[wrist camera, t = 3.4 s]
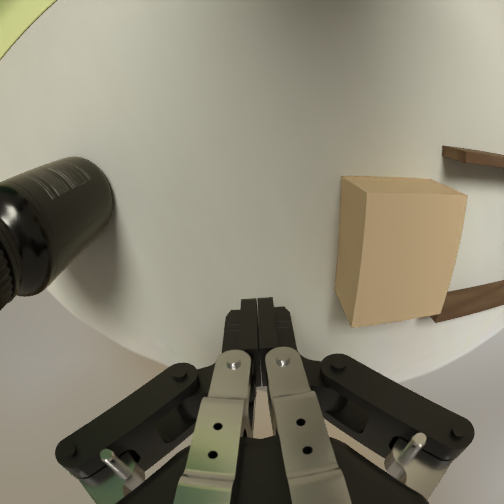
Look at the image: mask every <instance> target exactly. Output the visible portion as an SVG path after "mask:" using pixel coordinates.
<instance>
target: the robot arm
mask: <svg viewBox="0 0 504 504" xmlns="http://www.w3.org/2000/svg"><path fill="white" fill-rule="evenodd" d="M258 322H259V325H258ZM260 360H261V369H260ZM261 372H262V383H263V386H267V393H268V404H269V410H270V416H271V423H272V428H273V436H271V437H268V438H264V439H255V438H253V428H254V416H255V404H256V399H255V398H256V387H258V386H261ZM324 419H326V420H327V421H329V422H330V423H332V424H333V425H335V426H336V427H337V428H339V429H340V430H342V431H343V432H345V433H346V434H348V435H349V436H351V437H352V438H354V439H355V440H357V441H358V442H360V443H361V444H363V445H364V446H366V447H368V448H369V449H371V450H372V451H374V452H375V453H377V454H379V455H380V456H382V457H384V458H385V462H384V464H385V469H386V470H387V472H388V473H389V474H388V473H387V472H385V471H384V470H382V469H380V468H379V467H378V466H376V465H375V464H373V463H372V462H370V461H369V460H368V459H366V458H365V457H363V456H362V455H360V454H359V453H358V452H356V451H355V450H353V449H352V448H350V447H349V446H348V445H347V444H345V443H343V442H341V441H339V440H337V439H334V438H331V437H329V435H328V431H327V429H326V425H325V422H324ZM193 432H194V434H193V438H192V442H191V445H190V446H188V447H186V448H184V449H183V450H181V451H180V452H178V453H177V454H176V455H175V456H174V457H172V458H171V459H170V460H169V461H168V462H167V463H166V464H164V465H163V466H162V467H161V468H160V469H159V470H157V471H156V472H155V473H154V474H152V475H151V476H150V477H149V478H148V479H146V480H145V473H144V472H145V471H146V470H147V469H149V468H150V467H151V466H153V465H154V464H155V463H157V462H158V461H159V460H160V459H162V458H163V457H164V456H165V455H167V454H168V453H169V452H170V451H172V450H173V449H174V448H175V447H177V446H178V445H179V444H180V443H181V442H183V441H184V440H185V439H186V438H187V437H188V436H190V435H191V434H192V433H193ZM473 438H474V428H473V426H472V424H471V422H470V421H468V420H467V419H466V418H464V417H462V416H460V415H457V414H456V413H454V412H451V411H449V410H447V409H446V408H444V407H442V406H440V405H438V404H436V403H434V402H432V401H430V400H428V399H426V398H424V397H422V396H420V395H418V394H417V393H415V392H413V391H411V390H409V389H407V388H405V387H403V386H401V385H400V384H398V383H396V382H394V381H392V380H390V379H389V378H387V377H385V376H383V375H381V374H380V373H378V372H376V371H374V370H372V369H371V368H369V367H367V366H365V365H363V364H362V363H360V362H358V361H356V360H355V359H353V358H351V357H349V356H347V355H344V354H332V355H329V356H327V357H325V358H324V359H323V360H322V361H314V360H309V359H306V358H304V357H303V356H301V355H300V354H299V352H298V351H297V347H296V342H295V337H294V332H293V327H292V321H291V316H290V312H289V311H288V310H287V309H286V308H285V307H274V305H273V297H268V298H258V312H257V300H256V298H254V299H241V310H231V311H230V312H229V313H228V315H227V316H226V320H225V328H224V337H223V346H222V354H221V355H219V357H218V358H217V360H216V363H214V364H213V365H211V366H208V367H205V368H201V369H196V368H195V367H194V366H193V365H191V364H189V363H177V364H174V365H172V366H170V367H168V368H167V369H166V370H164V371H163V372H162V373H160V374H159V375H157V376H156V377H155V378H153V379H152V380H150V381H149V382H148V383H146V384H145V385H143V386H142V387H141V388H139V389H138V390H136V391H135V392H133V393H132V394H130V395H129V396H128V397H127V398H125V399H123V400H122V401H120V402H119V403H118V404H116V405H115V406H113V407H112V408H110V409H109V410H107V411H106V412H104V413H103V414H101V415H100V416H98V417H97V418H95V419H94V420H92V421H91V422H89V423H88V424H86V425H85V426H83V427H82V428H80V429H79V430H77V431H75V432H74V433H72V434H71V435H69V436H68V437H66V438H65V439H63V440H62V441H60V443H59V444H58V445H57V447H56V450H55V456H56V459H57V461H58V462H59V463H60V464H61V465H62V466H63V467H64V468H65V469H67V470H68V471H69V472H70V474H71V475H73V476H74V477H75V478H76V479H78V480H79V481H80V482H81V484H82V485H83V487H84V488H85V489H86V491H87V492H88V493H89V495H90V496H91V498H92V499H93V500H94V501H95V503H96V504H429V502H428V501H427V500H428V498H429V497H430V495H431V494H432V492H433V491H434V489H435V488H436V486H437V485H438V483H439V482H440V480H441V479H442V477H443V475H444V474H445V472H446V471H447V469H448V467H449V465H450V464H451V463H452V462H453V461H454V460H455V459H456V458H457V457H458V456H459V455H460V454H461V453H462V452H463V451H464V450H465V449H466V447H468V445H469V444H470V443H471V442H472V440H473ZM144 480H145V481H144Z"/></svg>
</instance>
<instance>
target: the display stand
mask: <svg viewBox="0 0 504 504" xmlns="http://www.w3.org/2000/svg"><path fill="white" fill-rule="evenodd" d="M55 1H57V0H0V60H1V58H2V57H3V56H4V55H5V53H6V52H7V51H8V50H9V49H10V47H11V46H12V45H13V44H14V43H15V42H16V40H17V39H18V38H19V37H20V36H21V35H22V34H23V33H24V32H25V31H26V30H27V28H28V27H29V26H30V25H31V24H32V23H33V22H34V21H35V20H36V19H37V18H38V17H39V16H40V15H41V14H42V13H43V12H45V11H46V10H47V9H48V8H49V7H50V6H51V5H52V4H53V3H54V2H55Z"/></svg>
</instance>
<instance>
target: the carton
mask: <svg viewBox="0 0 504 504" xmlns="http://www.w3.org/2000/svg"><path fill="white" fill-rule="evenodd" d="M467 197H468V196H467V195H465V194H463V193H461V192H458V191H456V190H454V189H452V188H450V187H447V186H445V185H443V184H441V183H438V182H436V181H434V180H431V179H421V178H402V177H372V176H341V205H340V227H339V244H338V258H337V270H336V281H335V292H336V294H337V296H338V298H339V301H340V303H341V305H342V307H343V310H344V312H345V314H346V317H347V319H348V321H349V324H350V326H351V328H352V327H360V326H368V325H376V324H383V323H390V322H396V321H402V320H409V319H414V318H420V317H426V316H431V315H437V314H440V313H441V310H442V307H443V304H444V301H445V298H446V294H447V291H448V288H449V284H450V281H451V277H452V273H453V269H454V265H455V261H456V257H457V253H458V248H459V244H460V239H461V234H462V229H463V223H464V217H465V211H466V204H467Z"/></svg>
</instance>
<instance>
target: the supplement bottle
mask: <svg viewBox="0 0 504 504" xmlns="http://www.w3.org/2000/svg"><path fill="white" fill-rule="evenodd" d="M111 214H112V194H111V189H110V186H109V183H108V181H107V179H106V177H105V176H104V174H103V173H102V171H101V170H100V169H99V168H98V167H97V166H96V165H95V164H94V163H92V162H91V161H89V160H87V159H84V158H81V157H67V158H64V159H60V160H57V161H54V162H51V163H48V164H45V165H43V166H40V167H37V168H34V169H32V170H29V171H27V172H24V173H21V174H19V175H16V176H14V177H12V178H9V179H7V180H5V181H2V182H0V310H1V309H2V308H3V307H4V306H5V305H6V304H7V303H9V302H10V301H12V300H13V298H14V297H15V296H16V295H17V296H24V297H26V296H33V295H36V294H39V293H40V292H42V291H43V290H44V289H45V288H47V287H48V286H49V285H50V284H51V283H52V282H53V281H54V280H55V279H56V277H57V276H58V275H59V274H60V273H61V272H62V271H63V270H64V269H65V268H66V267H67V266H68V265H69V264H70V263H71V262H72V261H73V260H74V259H75V258H76V257H77V256H78V255H79V254H81V253H82V252H83V251H84V250H85V249H86V248H87V247H88V246H89V245H90V244H91V243H92V242H93V241H94V240H95V239H96V238H97V237H98V236H99V235H100V234H101V233H102V232H103V231H104V230H105V228H106V227H107V225H108V223H109V220H110V218H111Z"/></svg>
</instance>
